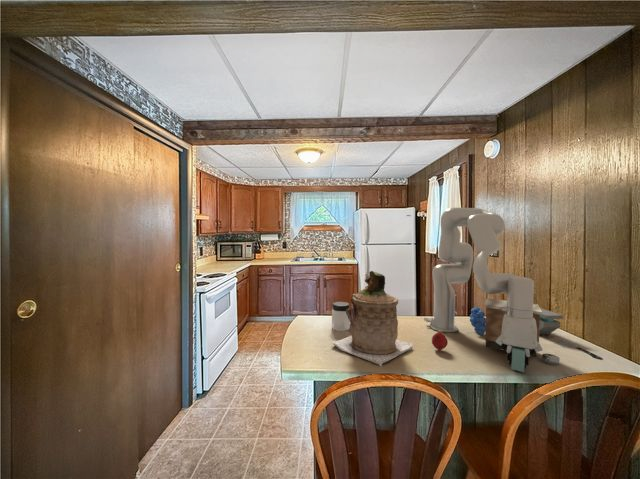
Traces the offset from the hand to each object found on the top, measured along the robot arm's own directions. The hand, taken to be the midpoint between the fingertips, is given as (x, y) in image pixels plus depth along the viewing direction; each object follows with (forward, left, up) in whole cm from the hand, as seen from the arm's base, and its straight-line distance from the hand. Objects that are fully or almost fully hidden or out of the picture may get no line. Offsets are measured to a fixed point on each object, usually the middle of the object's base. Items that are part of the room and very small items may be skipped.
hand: (517, 364), depth 102 cm
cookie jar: (-49, -11, -2) cm, 50 cm away
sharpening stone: (+8, +53, -2) cm, 53 cm away
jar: (-71, +2, -2) cm, 71 cm away
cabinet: (-2, +15, -2) cm, 16 cm away
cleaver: (+18, +38, -2) cm, 43 cm away
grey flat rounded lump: (+11, +13, -2) cm, 17 cm away
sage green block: (0, +6, -1) cm, 6 cm away
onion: (-26, +1, -2) cm, 26 cm away
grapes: (-15, +32, -2) cm, 36 cm away
